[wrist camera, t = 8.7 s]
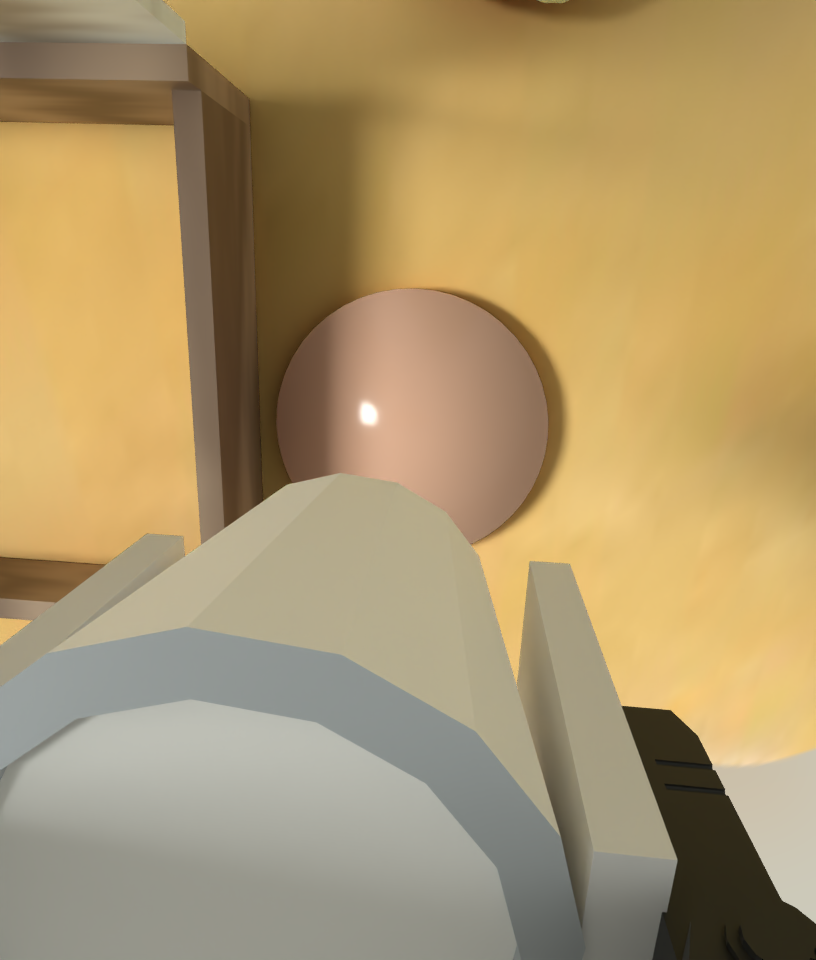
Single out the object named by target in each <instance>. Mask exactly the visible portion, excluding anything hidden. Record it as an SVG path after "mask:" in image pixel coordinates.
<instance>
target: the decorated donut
mask: <svg viewBox="0 0 816 960" xmlns="http://www.w3.org/2000/svg"><path fill="white" fill-rule="evenodd" d="M537 1H540V2H543V3H564V2H566V1H569V0H537Z"/></svg>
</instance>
